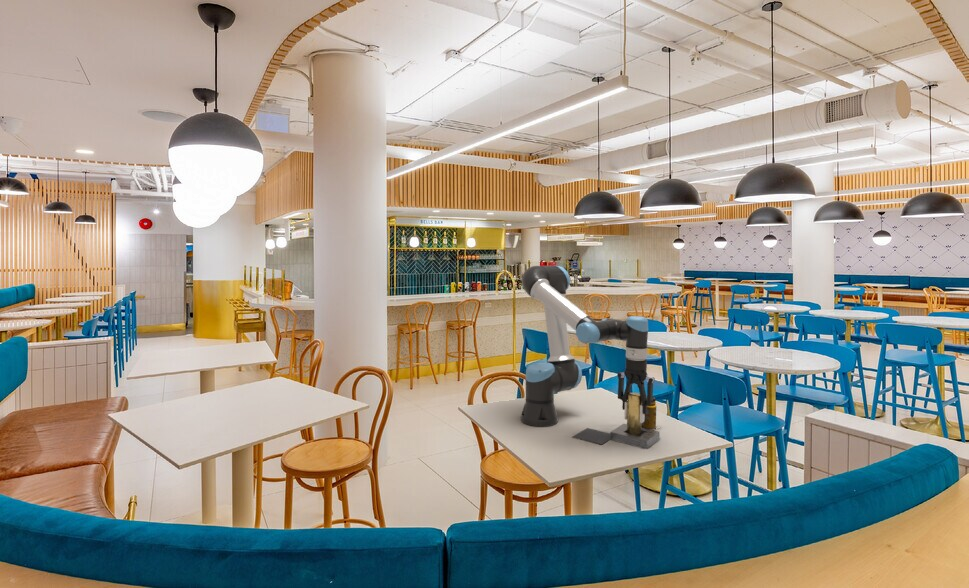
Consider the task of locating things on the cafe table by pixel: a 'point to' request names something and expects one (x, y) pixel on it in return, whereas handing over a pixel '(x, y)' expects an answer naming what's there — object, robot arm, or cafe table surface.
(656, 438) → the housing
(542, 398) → the robot arm
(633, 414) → the gold rounded cylinder
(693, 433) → the cafe table surface
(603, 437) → the mat
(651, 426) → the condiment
